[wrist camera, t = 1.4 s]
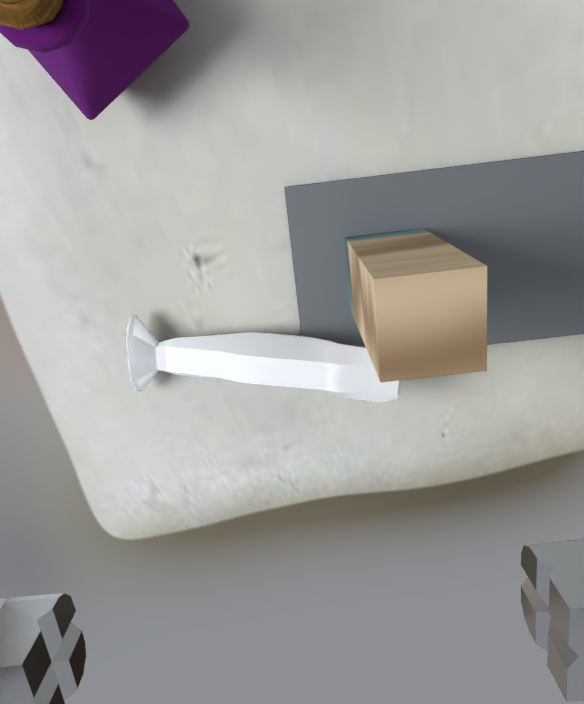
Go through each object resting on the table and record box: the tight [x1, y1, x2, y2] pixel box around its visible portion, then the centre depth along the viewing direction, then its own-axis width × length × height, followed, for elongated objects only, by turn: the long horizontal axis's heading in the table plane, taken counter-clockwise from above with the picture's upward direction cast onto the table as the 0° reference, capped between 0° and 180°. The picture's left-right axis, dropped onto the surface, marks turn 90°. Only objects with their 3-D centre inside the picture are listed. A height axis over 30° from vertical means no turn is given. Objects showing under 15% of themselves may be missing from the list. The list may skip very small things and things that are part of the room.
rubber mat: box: [285, 151, 584, 347], centre depth 37 cm, size 12×22×1 cm, turn 97°
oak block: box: [345, 228, 487, 383], centre depth 31 cm, size 5×5×12 cm
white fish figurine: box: [126, 315, 400, 403], centre depth 37 cm, size 6×18×4 cm, turn 88°
